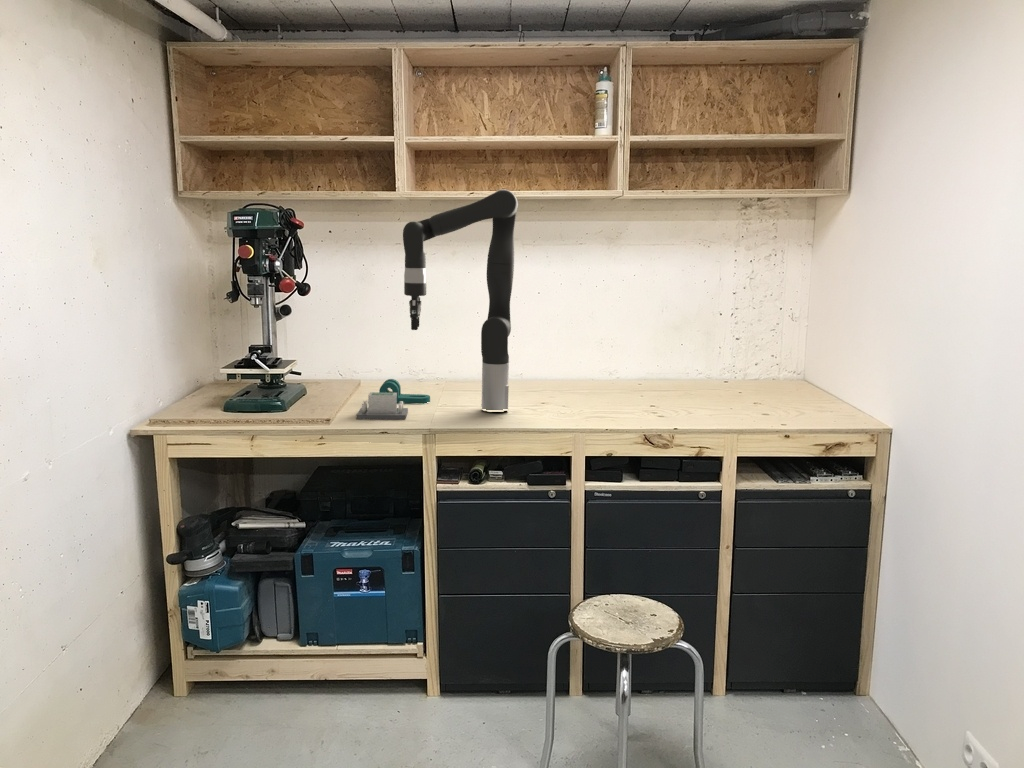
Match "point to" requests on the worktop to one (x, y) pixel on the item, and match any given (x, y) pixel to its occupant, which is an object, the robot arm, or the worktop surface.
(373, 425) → the worktop surface
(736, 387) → the worktop surface
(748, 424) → the worktop surface
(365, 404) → the grey wall plate
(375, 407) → the block
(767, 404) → the worktop surface
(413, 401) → the bracket
